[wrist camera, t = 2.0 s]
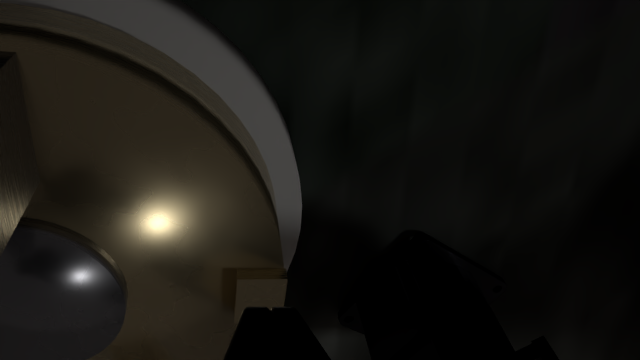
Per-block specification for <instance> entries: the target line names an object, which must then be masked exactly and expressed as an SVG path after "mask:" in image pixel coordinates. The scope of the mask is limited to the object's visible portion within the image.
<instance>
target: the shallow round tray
mask: <svg viewBox="0 0 640 360" xmlns="http://www.w3.org/2000/svg"><path fill="white" fill-rule="evenodd" d="M287 280H288V279H287V271H286V268H284V262H283V255H282V247H281V240H280V232H279V225H278V217H277V210H276V202H275V195H274V189H273V185H272V182H271V179H270V175H269V172H268V169H267V166H266V164H265V161H264V159H263V157H262V155H261V153H260V151H259V149H258V147H257V145H256V143H255V141H254V140H253V138H252V137H251V135H250V134H249V132H248V131H247V129H246V128H245V126H244V125H243V123H242V122H241V120H240V119H239V118H238V116H237V115H236V114H235V113H234V112H233V111H232V110H231V108H230V107H229V106H228V105H227V104H226V103H225V102H224V101H223V99H222V98H221V97H220V96H219V95H218V94H217V93H216V92H214V91H213V90H212V89H211V88H210V87H209V86H208V85H207V84H205V83H204V82H203V81H202V80H201V79H200V78H199V77H197V76H196V75H195V74H194V73H193V72H191V71H190V70H188V69H187V68H185V67H184V66H182V65H181V64H179V63H178V62H177V61H175V60H174V59H172V58H171V57H169V56H168V55H166V54H165V53H163V52H161V51H159V50H157V49H156V48H154V47H152V46H150V45H148V44H146V43H144V42H142V41H140V40H139V39H137V38H135V37H133V36H131V35H129V34H126V33H124V32H121V31H119V30H116V29H113V28H111V27H108V26H106V25H103V24H101V23H98V22H96V21H93V20H89V19H86V18H82V17H78V16H75V15H71V14H67V13H63V12H60V11H56V10H52V9H45V8H38V7H32V6H25V5H19V4H12V3H0V360H223V359H224V356H225V354H226V351H227V349H228V346H229V344H230V341H231V339H232V336H233V334H234V331H235V329H236V326H237V324H238V321H239V319H240V316H241V314H242V312H243V309H244V308H245V307H267V308H269V310H270V309H271V308H272V307H284V301H285V294H286V287H287Z"/></svg>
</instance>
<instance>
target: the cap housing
mask: <svg viewBox="0 0 640 360" xmlns="http://www.w3.org/2000/svg"><path fill="white" fill-rule="evenodd" d="M0 3H12V4H19V5H25V6H32V7H38V8H45V9H52V10H56V11H60V12H63V13H67V14H71V15H75V16H78V17H82V18H86V19H89V20H93V21H96V22H98V23H101V24H103V25H106V26H108V27H111V28H113V29H116V30H119V31H121V32H124V33H126V34H129V35H131V36H133V37H135V38H137V39H139V40H140V41H142V42H144V43H146V44H148V45H150V46H152V47H154V48H156V49H157V50H159V51H161V52H163V53H165V54H166V55H168V56H169V57H171V58H172V59H174V60H175V61H177V62H178V63H179V64H181V65H182V66H184V67H185V68H187V69H188V70H190V71H191V72H193V73H194V74H195V75H196V76H197V77H199V78H200V79H201V80H202V81H203V82H204V83H205V84H207V85H208V86H209V87H210V88H211V89H212V90H213V91H214V92H216V93H217V94H218V95H219V96H220V97H221V98H222V99H223V101H224V102H225V103H226V104H227V105H228V106H229V107H230V108H231V110H232V111H233V112H234V113H235V114H236V115H237V116H238V118H239V119H240V120H241V122H242V123H243V125H244V126H245V128H246V129H247V131H248V132H249V134H250V135H251V137H252V138H253V140H254V141H255V143H256V145H257V147H258V149H259V151H260V153H261V155H262V157H263V159H264V161H265V164H266V166H267V169H268V172H269V175H270V179H271V182H272V185H273V189H274V195H275V202H276V210H277V217H278V225H279V232H280V240H281V247H282V255H283V262H284V268H286V271H288V268H289V266H290V263H291V261H292V258H293V256H294V254H295V251H296V247H297V242H298V238H299V234H300V229H301V215H302V198H301V188H300V179H299V174H298V169H297V165H296V160H295V155H294V151H293V147H292V143H291V139H290V135H289V131H288V128H287V125H286V123H285V120H284V118H283V116H282V113H281V111H280V109H279V106H278V104H277V102H276V100H275V98H274V97H273V95H272V93H271V92H270V90H269V88H268V87H267V85H266V83H265V82H264V80H263V78H262V77H261V75H260V74H259V73H258V71H257V70H256V69H255V68H254V66H253V65H252V64H251V63H250V61H249V60H248V59H247V58H246V56H245V55H244V54H243V53H242V51H241V50H240V49H239V48H238V47H236V46H235V45H234V44H233V43H232V42H231V41H230V40H229V39H228V38H227V37H226V36H225V35H224V34H223V33H222V32H221V31H220V30H219V29H218V28H217V27H216V26H214V25H213V24H212V23H210V22H209V21H208V20H206V19H205V18H204V17H202V16H201V15H200V14H198V13H197V12H196V11H195V10H193V9H192V8H191V7H189V6H188V5H187V4H185V3H183V2H181V1H180V0H0Z"/></svg>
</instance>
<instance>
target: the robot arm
mask: <svg viewBox="0 0 640 360" xmlns="http://www.w3.org/2000/svg"><path fill="white" fill-rule="evenodd" d="M421 244H424V245H423V246H420V245H421ZM506 288H507V285H506V283H505V282H504V280H503V279H502V278H501V277H500V276H498V275H496V274H494V273H493V272H491V271H489V270H487V269H486V268H484V267H482V266H481V265H479V264H477V263H475V262H474V261H472V260H470V259H468V258H467V257H465V256H463V255H461V254H460V253H458V252H456V251H455V250H453V249H451V248H449V247H448V246H446V245H444V244H442V243H441V242H439V241H437V240H436V239H434V238H432V237H430V236H429V235H426V234H420V235H417V236H415V237H414V238H413V239H412V240H411V241H410V242H409V243H408V244H407V245H406V246H405V247H404V248H403V249H402V250H401V251H400V252H399V253H398V254H397V255H396V256H395V257H393V258H392V259H391V260H390V261H389V262H388V263H387V264H386V265H385V266H384V267H383V268H382V269H381V270H380V271H379V272H378V273H377V274H376V275H375V276H374V277H373V278H372V279H371V280H370V281H369V282H368V283H367V284H366V285H365V286H364V287H363V288H362V289H361V290H360V291H359V292H358V293H357V294H356V295H355V296H354V297H353V298H352V299H351V300H350V301H349V302H348V303H347V304H346V305H345V306H344V307H343V308H342V309H341V310H340V311H339V312H338V318H339V322H340V324H342V325H343V326H346V327H348V328H350V329H353V330H355V331H357V332H360V333H362V334H365V338H366V341H367V345H368V348H369V352H370V356H371V359H372V360H559V359H558V357H557V356H556V354H555V353H554V351H553V350H552V348H551V346H550V345H549V343H548V342H547V340H546V339H545V337H544V336H541V337H539V338H537V339H535V340H533V341H531V342H532V344H530V345H528V346H526V347H524V348H522V349H520V350H518V351H516V352H515V350H514V349H513V347H512V345H511V343H510V341H509V340H508V338H507V336H506V334H505V332H504V331H503V329H502V327H501V325H500V323H499V322H498V320H497V318H496V316H495V314H494V313H493V311H492V309H491V307H490V305H489V304H491V303H492V302H493V301H494V300H495V299H496V298H498V297H499V296H500V295H501V294H502V293H504V291H505V290H506ZM347 316H348V317H347ZM223 360H331V359H330V358H329V356H328V355H327V353H326V352H325V350H324V349H323V347H322V346H321V344H320V343H319V341H318V340H317V339H316V337H315V336H314V334H313V333H312V331H311V330H310V328H309V327H308V325H307V324H306V322H305V321H304V319H303V318H302V317H301V315H300V314H299V312H298V311H297V310H296V309H295V308H294V307H272V308H271V309H270V310H269V308H267V307H245V308H244V309H243V312H242V314H241V316H240V319H239V321H238V324H237V326H236V329H235V331H234V334H233V336H232V339H231V341H230V344H229V346H228V349H227V351H226V354H225V356H224V359H223Z"/></svg>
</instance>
